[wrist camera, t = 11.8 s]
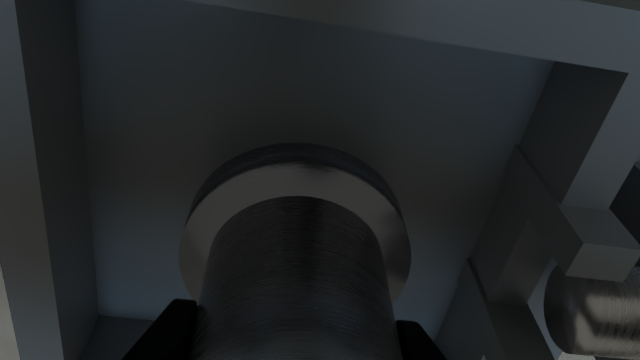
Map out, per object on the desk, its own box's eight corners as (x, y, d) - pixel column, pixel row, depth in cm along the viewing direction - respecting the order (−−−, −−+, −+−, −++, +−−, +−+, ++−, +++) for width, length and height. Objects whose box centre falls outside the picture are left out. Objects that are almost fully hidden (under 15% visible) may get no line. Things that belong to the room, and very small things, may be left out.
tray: (539, 361, 18) (597, 490, 14) (72, 319, 16) (8, 455, 13) (755, 6, 11) (957, 82, 8) (20, -130, 10) (-140, -111, 6)
